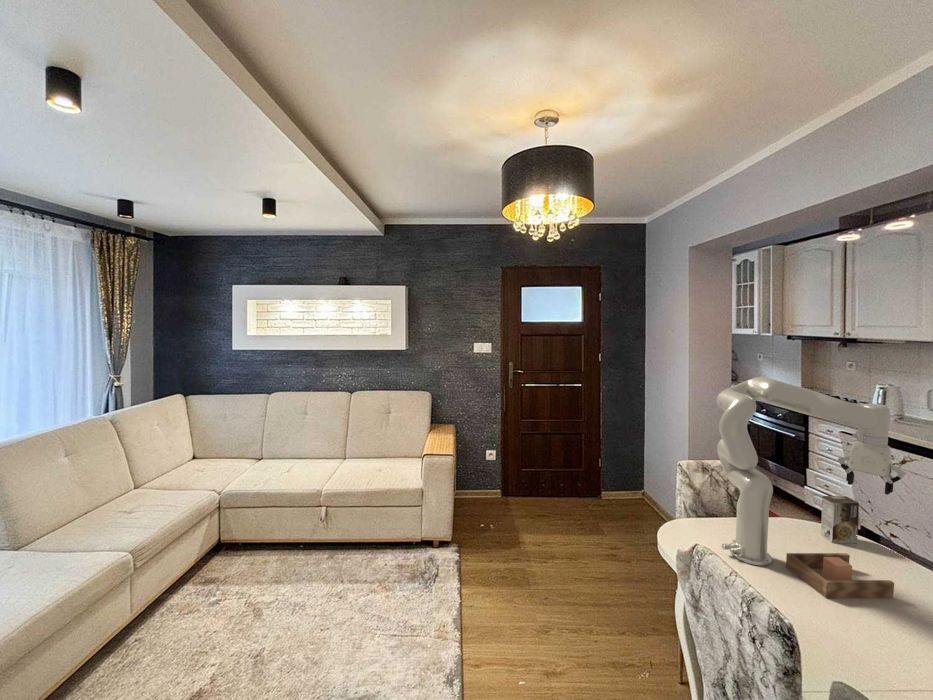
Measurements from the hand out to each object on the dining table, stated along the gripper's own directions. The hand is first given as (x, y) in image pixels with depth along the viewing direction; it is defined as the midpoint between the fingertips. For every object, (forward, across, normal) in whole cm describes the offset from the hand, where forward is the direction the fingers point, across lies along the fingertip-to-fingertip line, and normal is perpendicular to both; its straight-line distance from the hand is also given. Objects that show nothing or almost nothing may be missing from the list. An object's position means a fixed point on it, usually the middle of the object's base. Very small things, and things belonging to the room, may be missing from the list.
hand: (868, 488), depth 146 cm
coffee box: (+27, -11, +14) cm, 33 cm away
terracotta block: (+27, -1, -21) cm, 34 cm away
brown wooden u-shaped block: (+27, -1, -21) cm, 34 cm away
